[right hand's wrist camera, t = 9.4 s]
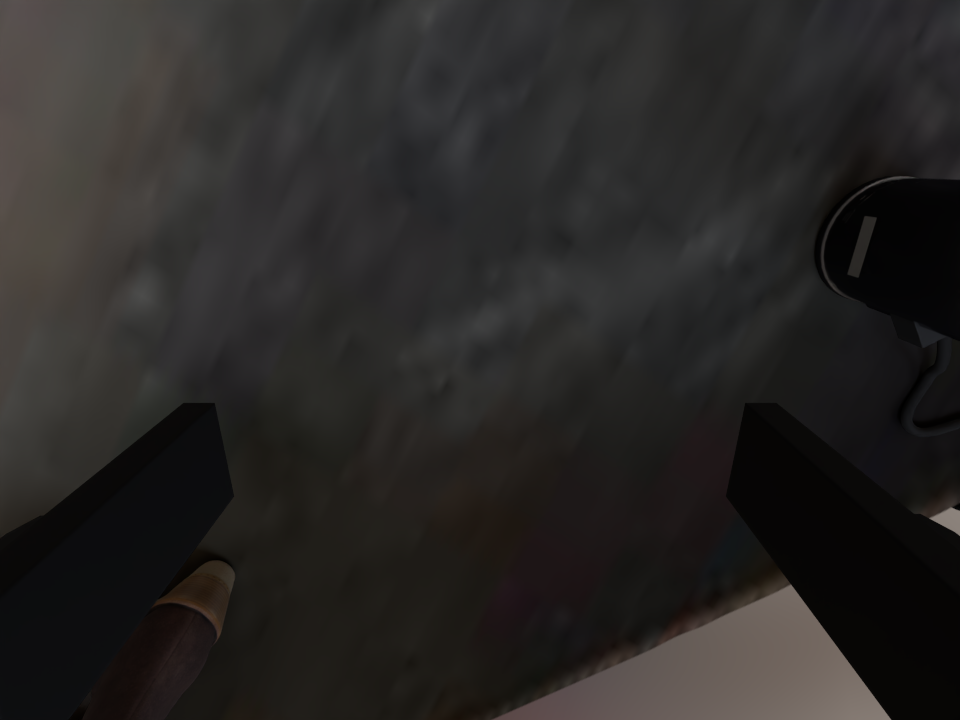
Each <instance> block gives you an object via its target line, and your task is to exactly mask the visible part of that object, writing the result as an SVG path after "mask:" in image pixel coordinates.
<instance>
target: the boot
mask: <svg viewBox="0 0 960 720" xmlns="http://www.w3.org/2000/svg"><path fill="white" fill-rule="evenodd" d="M234 580H235V573H234V571H233V569H232V568H231V566H230V565H228V564H227V563H225V562H223V561H219V560H214V561H209V562H207V563H205V564H203V565H202V566H200V567H199V568H198V569H197V570H196V571H194V572H193V573H192V574H191V575H190V576H189V577H187V578H186V579H184V580H183V581H182V582H181V583H179V584H178V585H177V586H176V587H175V588H174V589H172V590H171V591H170V592H169V593H168V594H167V595H165V596H164V597H162V598H160V599H158V600H157V601H156V602H155V604H154V605H153V606H152V608H151V609H150V610H149V612H148V613H147V615H146V616H145V617H144V619H143V620H142V621H141V623H140V624H139V625H138V627H137V628H136V629H135V631H134V632H133V633H132V635H131V636H130V637H129V639H128V640H127V642H126V643H125V644H124V646H123V647H122V648H121V650H120V651H119V652H118V654H117V655H116V656H115V658H114V659H113V660H112V662H111V663H110V664H109V666H108V667H107V669H106V670H105V671H104V673H103V674H102V675H101V677H100V678H99V679H98V681H97V682H96V683H95V685H94V686H93V687H92V699H91V701H90V703H89V706H88V708H87V710H86V712H85V714H84V716H83V718H82V720H165V718H166V716H167V715H168V714H169V712H170V710H171V709H172V708H173V706H174V705H175V704H176V702H177V701H178V699H179V698H180V697H181V695H182V694H183V693H184V692H185V691H186V690H187V689H188V688H189V686H190V685H191V684H192V683H193V682H194V680H195V679H196V678H197V676H198V675H199V673H200V671H201V670H202V668H203V666H204V664H205V662H206V660H207V657H208V655H209V652H210V649H211V647H212V646H213V645H214V644H215V642H216V641H217V640H218V638H219V636H220V634H221V631H222V627H223V623H224V618H225V614H226V610H227V606H228V602H229V598H230V593H231V591H232V587H233V583H234Z"/></svg>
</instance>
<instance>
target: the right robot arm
mask: <svg viewBox="0 0 960 720" xmlns="http://www.w3.org/2000/svg"><path fill="white" fill-rule="evenodd" d="M233 497H234V494H233V489H232V484H231V480H230V475H229V470H228V465H227V460H226V456H225V451H224V446H223V441H222V436H221V432H220V427H219V422H218V417H217V412H216V407H215V403H183V404H182V405H181V406H179V407H178V408H177V409H176V410H174V411H173V412H172V413H171V414H169V415H168V416H167V417H166V418H164V419H163V420H162V421H161V422H159V423H158V424H157V425H156V426H155V427H153V428H152V429H151V430H150V431H148V432H147V433H146V434H145V435H143V436H142V437H141V438H140V439H138V440H137V441H136V442H135V443H133V444H132V445H131V446H130V447H128V448H127V449H126V450H125V451H124V452H122V453H121V454H120V455H119V456H117V457H116V458H115V459H114V460H112V461H111V462H110V463H109V464H107V465H106V466H105V467H104V468H102V469H101V470H100V471H99V472H97V473H96V474H95V475H94V476H93V477H91V478H90V479H89V480H88V481H86V482H85V483H84V484H83V485H81V486H80V487H79V488H78V489H76V490H75V491H74V492H73V493H71V494H70V495H69V496H68V497H66V498H65V499H64V500H63V501H62V502H60V503H59V504H58V505H57V506H55V507H54V508H53V509H52V510H50V511H49V512H48V513H47V514H45V515H44V516H39V517H37V518H35V519H33V520H31V521H29V522H28V523H26V524H24V525H22V526H20V527H18V528H16V529H15V530H13V531H11V532H9V533H7V534H5V535H4V536H3V537H2V538H0V720H69V719H70V717H71V716H72V714H73V713H74V712H75V710H76V709H77V708H78V706H79V705H80V704H81V702H82V701H83V700H84V698H85V697H86V696H87V694H88V693H89V691H90V690H91V689H92V687H93V686H94V685H95V683H96V682H97V681H98V679H99V678H100V677H101V675H102V674H103V673H104V671H105V670H106V669H107V667H108V666H109V664H110V663H111V662H112V660H113V659H114V658H115V656H116V655H117V654H118V652H119V651H120V650H121V648H122V647H123V646H124V644H125V643H126V642H127V640H128V639H129V637H130V636H131V635H132V633H133V632H134V631H135V629H136V628H137V627H138V625H139V624H140V623H141V621H142V620H143V619H144V617H145V616H146V615H147V613H148V612H149V610H150V609H151V608H152V606H153V605H154V604H155V602H156V601H157V600H158V598H159V597H160V596H161V594H162V593H163V592H164V590H165V589H166V587H167V586H168V585H169V583H170V582H171V581H172V579H173V578H174V577H175V575H176V574H177V573H178V571H179V570H180V569H181V567H182V566H183V565H184V563H185V562H186V560H187V559H188V558H189V556H190V555H191V554H192V552H193V551H194V550H195V548H196V547H197V546H198V544H199V543H200V542H201V540H202V539H203V538H204V536H205V535H206V533H207V532H208V531H209V529H210V528H211V527H212V525H213V524H214V523H215V521H216V520H217V519H218V517H219V516H220V515H221V513H222V512H223V511H224V509H225V508H226V506H227V505H228V504H229V502H230V501H231V500H232V498H233ZM726 497H727V498H728V500H729V501H730V502H731V504H732V505H733V506H734V508H735V509H736V511H737V512H738V513H739V515H740V516H741V517H742V519H743V520H744V521H745V523H746V524H747V525H748V527H749V528H750V529H751V531H752V532H753V533H754V535H755V536H756V538H757V539H758V540H759V542H760V543H761V544H762V546H763V547H764V548H765V550H766V551H767V552H768V554H769V555H770V556H771V558H772V559H773V560H774V562H775V563H776V565H777V566H778V567H779V569H780V570H781V571H782V573H783V574H784V575H785V577H786V578H787V579H788V581H789V582H790V583H791V585H792V586H793V587H794V589H795V590H796V592H797V593H798V594H799V596H800V597H801V598H802V600H803V601H804V602H805V604H806V605H807V606H808V608H809V609H810V610H811V612H812V613H813V615H814V616H815V617H816V619H817V620H818V621H819V623H820V624H821V625H822V627H823V628H824V629H825V631H826V632H827V633H828V635H829V636H830V637H831V639H832V640H833V641H834V643H835V644H836V646H837V647H838V648H839V650H840V651H841V652H842V654H843V655H844V656H845V658H846V659H847V660H848V662H849V663H850V664H851V666H852V667H853V668H854V670H855V671H856V673H857V674H858V675H859V677H860V678H861V679H862V681H863V682H864V683H865V685H866V686H867V687H868V689H869V690H870V691H871V693H872V694H873V696H874V697H875V698H876V700H877V701H878V702H879V704H880V705H881V706H882V708H883V709H884V710H885V712H886V713H887V714H888V716H889V717H890V718H891V720H960V536H959V535H958V534H956V533H955V532H953V531H952V530H950V529H948V528H946V527H944V526H942V525H940V524H938V523H936V522H934V521H933V520H931V519H929V518H927V517H925V516H923V515H921V514H913V513H912V512H911V511H910V510H908V509H907V508H906V507H905V506H903V505H902V504H901V503H900V502H898V501H897V500H896V499H895V498H894V497H892V496H891V495H890V494H889V493H887V492H886V491H885V490H884V489H882V488H881V487H880V486H879V485H877V484H876V483H875V482H874V481H872V480H871V479H870V478H869V477H867V476H866V475H865V474H864V473H863V472H861V471H860V470H859V469H858V468H856V467H855V466H854V465H853V464H851V463H850V462H849V461H848V460H846V459H845V458H844V457H843V456H841V455H840V454H839V453H838V452H836V451H835V450H834V449H833V448H832V447H830V446H829V445H828V444H827V443H825V442H824V441H823V440H822V439H820V438H819V437H818V436H817V435H815V434H814V433H813V432H812V431H810V430H809V429H808V428H807V427H805V426H804V425H803V424H802V423H801V422H799V421H798V420H797V419H796V418H794V417H793V416H792V415H791V414H789V413H788V412H787V411H786V410H784V409H783V408H782V407H781V406H779V405H778V404H777V403H745V407H744V412H743V417H742V422H741V427H740V432H739V436H738V441H737V446H736V451H735V456H734V460H733V465H732V470H731V475H730V480H729V484H728V489H727V494H726Z"/></svg>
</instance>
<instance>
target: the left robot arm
mask: <svg viewBox="0 0 960 720" xmlns="http://www.w3.org/2000/svg"><path fill="white" fill-rule="evenodd" d="M816 264H817V269H818V272H819V274H820V276H821V278H822V280H823V282H824V283H825V284H826V285H827V286H828V287H829V288H830V289H831V290H832V291H833V292H835V293H836V294H838V295H840V296H843V297H845V298H848V299H851V300H854V301H858V302H863V303H865V304H866V305H867V307H869V308H871V309H874V310H877V311H879V312H882V313H885V314H887V315H890V316H891V318H892V321H893V324H894V326H895V329H896V332H897V335H898V338H900V339H902V340H904V341H907V342H909V343H912V344H914V345H917V346H919V347H921V348H924V347H926V346H928V345H930V344H932V343H934V342H936V341H937V356H936V361H935V364H934V365H933V366H931V367H929V368H928V369H927V370H926V371H925V372H924V374H923V376H922V377H921V379H920V381H919V382H918V384H917V385H916V387H915V388H914V389H913V391H912V392H911V394H910V395H909V397H908V399H907V400H906V402H905V404H904V406H903V408H902V412H901V424H902V426H903V428H904V429H905V430H906V431H907V432H908V433H910V434H911V435H914V436H918V437H929V436H935V435H940V434H943V433H947V432H950V431H953V430H956V429H959V428H960V418H959V419H955V420H952V421H949V422H946V423H943V424H940V425H936V426H933V427H927V428H920V427H917V426H916V425H914V423H913V421H912V417H913V413H914V411H915V408H916V406H917V405H918V403H919V401H920V400H921V398H922V397H923V395H924V394H925V393H926V391H927V390H928V388H929V387H930V385H931V384H932V382H933V381H934V379H935V378H936V376H937V375H939V374H941V373H943V372H944V371H945V370H946V368H947V366H948V364H949V362H950V358H951V351H952V338H953V339H955V340H958V341H960V180H950V179H923V178H916V177H908V176H890V177H883V178H879V179H875V180H872V181H870V182H867V183H865V184H863V185H861V186H859V187H858V188H856V189H855V190H853V191H852V192H850V193H849V194H848V195H847V196H845V197H844V198H843V199H842V200H841V201H840V202H839V203H838V204H837V205H836V206H835V207H834V209H833V210H832V211H831V213H830V214H829V216H828V217H827V219H826V220H825V222H824V224H823V226H822V228H821V231H820V234H819V237H818V240H817V245H816ZM952 508H954V509H956V510H959V511H960V503H959V504H957V505H955V506H953V507H952Z"/></svg>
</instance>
